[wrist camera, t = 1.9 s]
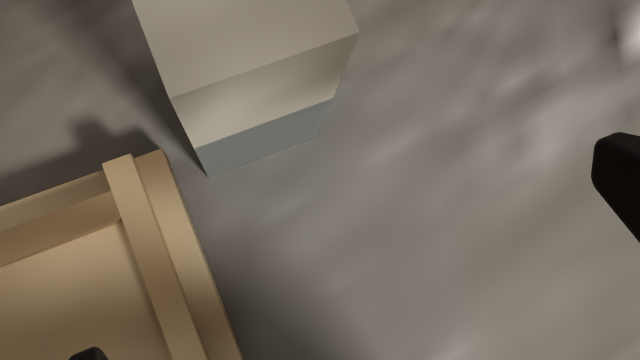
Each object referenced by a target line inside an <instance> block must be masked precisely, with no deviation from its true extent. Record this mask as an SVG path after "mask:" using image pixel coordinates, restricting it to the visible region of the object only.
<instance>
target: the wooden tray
mask: <svg viewBox="0 0 640 360" xmlns="http://www.w3.org/2000/svg"><path fill="white" fill-rule="evenodd" d="M102 166H103V170H100V171H98V172H95V173H92V174H89V175H87V176H84V177H81V178H78V179H76V180H73V181H70V182H67V183H64V184H62V185H59V186H56V187H53V188H51V189H48V190H45V191H42V192H40V193H37V194H34V195H31V196H28V197H26V198H23V199H20V200H17V201H15V202H12V203H9V204H6V205H4V206H1V207H0V360H68V359H69V358H70V357H71V356H72V355H74V354H76V353H78V352H81V351H83V350H85V349H88V348H90V347H93V346H97V347H99V348H100V349H101V350H102V351H103V352H104V354H105V355H106V357H107V358H108V359H109V360H244V358H243V356H242V353H241V350H240V348H239V345H238V342H237V340H236V337H235V334H234V332H233V329H232V326H231V324H230V321H229V318H228V316H227V313H226V311H225V308H224V305H223V303H222V300H221V297H220V295H219V292H218V289H217V287H216V284H215V281H214V279H213V276H212V273H211V271H210V268H209V266H208V263H207V260H206V258H205V255H204V252H203V250H202V247H201V244H200V242H199V239H198V236H197V234H196V231H195V228H194V226H193V223H192V220H191V218H190V215H189V213H188V210H187V207H186V205H185V202H184V199H183V197H182V194H181V191H180V189H179V186H178V183H177V181H176V178H175V175H174V173H173V170H172V168H171V165H170V162H169V160H168V157H167V155H166V153H165V152H164V151H163V149H162V148H161V149H159V150H156V151H153V152H150V153H148V154H145V155H142V156H139V157H136V158H134V157H133V156H132V155H131V154H127V155H124V156H122V157H119V158H116V159H113V160H110V161H108V162H105V163H102Z"/></svg>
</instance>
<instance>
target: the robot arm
mask: <svg viewBox="0 0 640 360" xmlns="http://www.w3.org/2000/svg"><path fill="white" fill-rule="evenodd" d="M591 179H592V182H593V185H594V187H595V188H596V190H597V191H598V192H599V193H600V195H601V196H602V197H603V198H604V200H605V201H606V202H607V203H608V204H609V206H610V207H611V208H612V209H613V211H614V212H615V213H616V214H617V216H618V217H619V218H620V219H621V220H622V222H623V223H624V224H625V225H626V227H627V228H628V229H629V230H630V232H631V233H632V234H633V235H634V236H635V238H636V239H637V240H638V241H639V242H640V136H636V135H631V134H627V133H622V132H617V133H613V134H611V135H609V136H606V137H604V138H601V139H599V140H598V141H597V142H596V144H595V146H594V153H593V162H592V170H591ZM68 360H109V359H108V358H107V357H106V355H105V354H104V352H103V351H102V350H101V349H100V348H99V347H97V346H93V347H90V348H88V349H85V350H83V351H81V352H78V353H76V354H74V355H72V356H71V357H70V358H69V359H68Z"/></svg>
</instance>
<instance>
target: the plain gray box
mask: <svg viewBox="0 0 640 360" xmlns="http://www.w3.org/2000/svg"><path fill="white" fill-rule="evenodd" d="M132 3H133V6H134V8H135V11H136V13H137V16H138V19H139V21H140V24H141V27H142V29H143V32H144V34H145V37H146V40H147V42H148V45H149V47H150V50H151V53H152V55H153V58H154V60H155V63H156V66H157V68H158V71H159V74H160V76H161V79H162V81H163V84H164V87H165V89H166V92H167V94H168V97H169V99H170V101H171V103H172V105H173V107H174V109H175V111H176V114H177V116H178V118H179V120H180V122H181V124H182V126H183V128H184V130H185V132H186V134H187V136H188V138H189V140H190V142H191V144H192V146H193V148H194V150H195V152H196V154H197V156H198V158H199V160H200V162H201V164H202V166H203V168H204V170H205V172H206V174H207V176H208V177H209V176H212V175H215V174H217V173H220V172H223V171H225V170H228V169H231V168H234V167H236V166H239V165H242V164H244V163H247V162H250V161H252V160H255V159H258V158H260V157H263V156H266V155H268V154H271V153H274V152H276V151H279V150H282V149H284V148H287V147H290V146H292V145H295V144H298V143H300V142H303V141H306V140H308V139H311V138H314V137H316V136H317V135H318V132H319V130H320V127H321V125H322V122H323V120H324V118H325V115H326V113H327V110H328V108H329V106H330V103H331V101H332V98H333V96H334V93H335V91H336V89H337V86H338V84H339V81H340V79H341V77H342V74H343V72H344V69H345V67H346V64H347V62H348V60H349V57H350V55H351V52H352V50H353V48H354V45H355V43H356V40H357V38H358V35H359V33H360V31H359V29H358V27H357V24H356V22H355V20H354V17H353V15H352V13H351V10H350V8H349V6H348V3H347V1H346V0H132Z"/></svg>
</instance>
